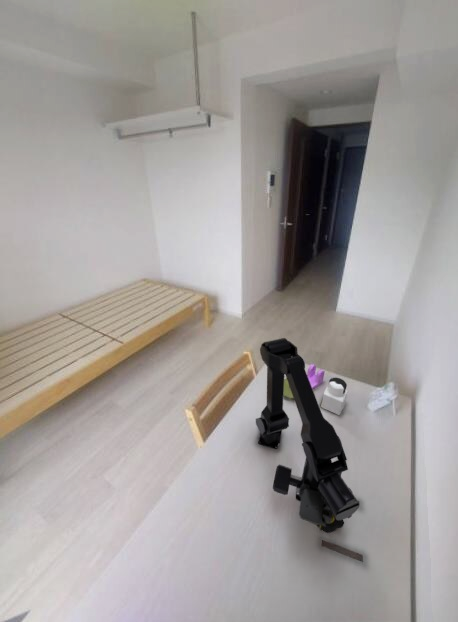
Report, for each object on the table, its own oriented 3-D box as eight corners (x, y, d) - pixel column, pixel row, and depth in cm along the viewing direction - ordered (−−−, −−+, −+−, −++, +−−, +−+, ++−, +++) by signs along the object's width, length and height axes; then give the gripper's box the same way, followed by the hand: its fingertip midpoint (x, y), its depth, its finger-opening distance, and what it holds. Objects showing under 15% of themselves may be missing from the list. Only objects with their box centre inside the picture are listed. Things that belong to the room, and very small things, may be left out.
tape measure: (343, 529, 68) (346, 521, 66) (320, 539, 66) (322, 532, 65) (327, 501, 74) (329, 493, 72) (305, 509, 72) (307, 502, 70)
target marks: (321, 545, 65) (321, 545, 65) (323, 490, 76) (323, 489, 76) (362, 561, 63) (363, 561, 62) (358, 502, 74) (359, 501, 73)
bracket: (311, 375, 118) (313, 362, 115) (322, 382, 115) (325, 369, 111) (292, 388, 111) (294, 375, 108) (303, 396, 108) (305, 383, 104)
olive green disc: (310, 389, 110) (311, 386, 110) (297, 406, 103) (297, 402, 102) (286, 377, 117) (287, 374, 116) (272, 392, 110) (272, 388, 109)
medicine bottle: (326, 395, 108) (331, 372, 102) (344, 403, 104) (351, 380, 98) (320, 407, 103) (325, 383, 97) (339, 416, 99) (345, 391, 93)
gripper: (270, 491, 60) (265, 526, 67) (360, 525, 54) (345, 559, 62) (279, 448, 69) (274, 483, 77) (357, 473, 64) (344, 508, 71)
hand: (307, 507), depth 71 cm, fingers closed
